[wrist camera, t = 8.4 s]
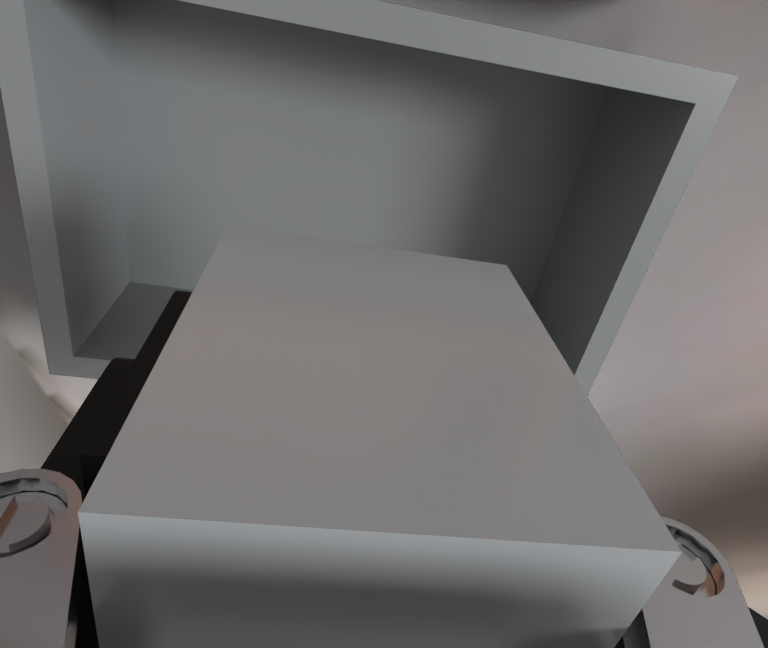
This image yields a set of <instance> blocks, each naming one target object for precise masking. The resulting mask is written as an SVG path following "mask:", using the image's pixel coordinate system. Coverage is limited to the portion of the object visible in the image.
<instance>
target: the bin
mask: <svg viewBox="0 0 768 648" xmlns="http://www.w3.org/2000/svg"><path fill="white" fill-rule="evenodd" d="M738 77H739V76H735V75H730V74H725V73H721V72H716V71H711V70H706V69H702V68H697V67H692V66H687V65H683V64H678V63H673V62H668V61H664V60H659V59H654V58H649V57H645V56H640V55H635V54H630V53H625V52H621V51H616V50H611V49H606V48H602V47H597V46H592V45H587V44H583V43H578V42H573V41H568V40H564V39H559V38H554V37H549V36H545V35H540V34H535V33H530V32H526V31H521V30H516V29H511V28H506V27H502V26H497V25H492V24H487V23H483V22H478V21H473V20H468V19H464V18H459V17H454V16H449V15H445V14H440V13H435V12H430V11H426V10H421V9H416V8H411V7H406V6H402V5H397V4H392V3H387V2H383V1H378V0H0V88H1V94H2V100H3V106H4V111H5V117H6V123H7V129H8V135H9V141H10V146H11V152H12V158H13V164H14V170H15V176H16V182H17V187H18V193H19V199H20V205H21V211H22V217H23V222H24V228H25V234H26V240H27V246H28V252H29V258H30V263H31V269H32V275H33V281H34V287H35V293H36V298H37V304H38V310H39V316H40V322H41V328H42V334H43V339H44V345H45V351H46V357H47V363H48V369H49V374H54V375H64V376H74V377H83V378H93V379H99V378H100V376H101V375H102V373H103V372H104V370H105V369H106V367H107V365H108V364H109V363H110V362H111V361H112V359H114V358H117V357H118V358H128V359H135V358H136V356H137V355H138V353H139V351H140V349H141V348H142V346H143V344H144V343H145V341H146V339H147V337H148V336H149V334H150V332H151V331H152V329H153V327H154V325H155V324H156V322H157V320H158V319H159V317H160V315H161V313H162V312H163V310H164V308H165V307H166V305H167V303H168V302H169V300H170V298H171V296H172V295H173V293H174V292H175V291H176V290H179V291H187V292H193V291H194V289H195V287H196V285H197V283H198V281H199V279H200V277H201V275H202V273H203V271H204V269H205V268H206V266H207V264H208V262H209V260H210V258H211V256H212V254H213V252H214V250H215V248H216V246H217V245H218V243H219V241H220V239H221V237H222V235H223V233H224V231H225V229H226V227H227V225H230V226H237V227H244V228H251V229H258V230H265V231H272V232H279V233H286V234H293V235H300V236H307V237H314V238H321V239H328V240H335V241H342V242H349V243H356V244H363V245H369V246H376V247H383V248H390V249H397V250H404V251H411V252H418V253H425V254H432V255H439V256H446V257H453V258H460V259H467V260H474V261H481V262H488V263H495V264H502V265H507V266H508V268H509V270H510V271H511V273H512V275H513V276H514V278H515V280H516V281H517V283H518V284H519V286H520V288H521V289H522V291H523V293H524V294H525V296H526V298H527V299H528V301H529V302H530V304H531V306H532V307H533V309H534V311H535V312H536V314H537V316H538V317H539V319H540V320H541V322H542V324H543V325H544V327H545V329H546V330H547V332H548V334H549V335H550V337H551V338H552V340H553V342H554V343H555V345H556V347H557V348H558V350H559V352H560V353H561V355H562V356H563V358H564V360H565V361H566V363H567V365H568V366H569V368H570V370H571V371H572V373H573V374H574V376H575V378H576V379H577V381H578V383H579V384H580V386H581V388H582V389H583V391H584V392H585V394H586V396H588V394H589V392H590V390H591V387H592V385H593V383H594V381H595V379H596V377H597V375H598V373H599V370H600V368H601V366H602V364H603V362H604V360H605V358H606V356H607V354H608V351H609V349H610V347H611V345H612V343H613V341H614V339H615V337H616V335H617V332H618V330H619V328H620V326H621V324H622V322H623V320H624V318H625V316H626V313H627V311H628V309H629V307H630V305H631V303H632V301H633V299H634V297H635V294H636V292H637V290H638V288H639V286H640V284H641V282H642V280H643V278H644V275H645V273H646V271H647V269H648V267H649V265H650V263H651V261H652V259H653V256H654V254H655V252H656V250H657V248H658V246H659V244H660V242H661V239H662V237H663V235H664V233H665V231H666V229H667V227H668V225H669V223H670V220H671V218H672V216H673V214H674V212H675V210H676V208H677V206H678V204H679V201H680V199H681V197H682V195H683V193H684V191H685V189H686V187H687V185H688V182H689V180H690V178H691V176H692V174H693V172H694V170H695V168H696V166H697V163H698V161H699V159H700V157H701V155H702V153H703V151H704V149H705V147H706V144H707V142H708V140H709V138H710V136H711V134H712V132H713V130H714V128H715V125H716V123H717V121H718V119H719V117H720V115H721V113H722V111H723V109H724V106H725V104H726V102H727V100H728V98H729V96H730V94H731V92H732V89H733V87H734V85H735V83H736V81H737V79H738Z"/></svg>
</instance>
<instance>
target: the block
mask: <svg viewBox="0 0 768 648" xmlns="http://www.w3.org/2000/svg"><path fill="white" fill-rule="evenodd" d="M78 517H79V523H80V529H81V536H82V542H83V548H84V555H85V561H86V567H87V573H88V580H89V586H90V592H91V599H92V605H93V611H94V618H95V624H96V630H97V637H98V643H99V648H614V647H615V646H616V644H617V643H618V642H619V640H620V639H621V637H622V636H623V634H624V633H625V632H626V630H627V629H628V627H629V626H630V625H631V623H632V622H633V620H634V619H635V618H636V616H637V615H638V613H639V612H640V611H641V609H642V608H643V606H644V605H645V603H646V602H647V601H648V599H649V598H650V596H651V595H652V594H653V592H654V591H655V589H656V588H657V587H658V585H659V584H660V582H661V581H662V580H663V578H664V577H665V575H666V574H667V572H668V571H669V570H670V568H671V567H672V565H673V564H674V563H675V561H676V560H677V558H678V557H679V556H680V554H681V553H682V551H681V549H680V548H679V546H678V545H677V543H676V541H675V540H674V538H673V536H672V535H671V533H670V531H669V530H668V528H667V527H666V525H665V523H664V522H663V520H662V518H661V517H660V515H659V513H658V512H657V510H656V509H655V507H654V505H653V504H652V502H651V500H650V499H649V497H648V495H647V494H646V492H645V491H644V489H643V487H642V486H641V484H640V482H639V481H638V479H637V477H636V476H635V474H634V473H633V471H632V469H631V468H630V466H629V464H628V463H627V461H626V459H625V458H624V456H623V455H622V453H621V451H620V450H619V448H618V446H617V445H616V443H615V441H614V440H613V438H612V437H611V435H610V433H609V432H608V430H607V428H606V427H605V425H604V423H603V422H602V420H601V419H600V417H599V415H598V414H597V412H596V410H595V409H594V407H593V405H592V404H591V402H590V401H589V399H588V397H587V396H586V394H585V392H584V391H583V389H582V388H581V386H580V384H579V383H578V381H577V379H576V378H575V376H574V374H573V373H572V371H571V370H570V368H569V366H568V365H567V363H566V361H565V360H564V358H563V356H562V355H561V353H560V352H559V350H558V348H557V347H556V345H555V343H554V342H553V340H552V338H551V337H550V335H549V334H548V332H547V330H546V329H545V327H544V325H543V324H542V322H541V320H540V319H539V317H538V316H537V314H536V312H535V311H534V309H533V307H532V306H531V304H530V302H529V301H528V299H527V298H526V296H525V294H524V293H523V291H522V289H521V288H520V286H519V284H518V283H517V281H516V280H515V278H514V276H513V275H512V273H511V271H510V270H509V268H508V266H507V265H502V264H495V263H488V262H481V261H474V260H467V259H460V258H453V257H446V256H439V255H432V254H425V253H418V252H411V251H404V250H397V249H390V248H383V247H376V246H369V245H363V244H356V243H349V242H342V241H335V240H328V239H321V238H314V237H307V236H300V235H293V234H286V233H279V232H272V231H265V230H258V229H251V228H244V227H237V226H230V225H227V227H226V229H225V231H224V233H223V235H222V237H221V239H220V241H219V243H218V245H217V246H216V248H215V250H214V252H213V254H212V256H211V258H210V260H209V262H208V264H207V266H206V268H205V269H204V271H203V273H202V275H201V277H200V279H199V281H198V283H197V285H196V287H195V289H194V291H193V292H192V294H191V296H190V298H189V300H188V302H187V304H186V306H185V308H184V310H183V312H182V314H181V315H180V317H179V319H178V321H177V323H176V325H175V327H174V329H173V331H172V333H171V335H170V337H169V338H168V340H167V342H166V344H165V346H164V348H163V350H162V352H161V354H160V356H159V358H158V360H157V361H156V363H155V365H154V367H153V369H152V371H151V373H150V375H149V377H148V379H147V381H146V383H145V384H144V386H143V388H142V390H141V392H140V394H139V396H138V398H137V400H136V402H135V404H134V406H133V408H132V409H131V411H130V413H129V415H128V417H127V419H126V421H125V423H124V425H123V427H122V429H121V431H120V432H119V434H118V436H117V438H116V440H115V442H114V444H113V446H112V448H111V450H110V452H109V454H108V455H107V457H106V459H105V461H104V463H103V465H102V467H101V469H100V471H99V473H98V475H97V477H96V478H95V480H94V482H93V484H92V486H91V488H90V490H89V492H88V494H87V496H86V498H85V500H84V501H83V503H82V505H81V507H80V509H79V511H78Z"/></svg>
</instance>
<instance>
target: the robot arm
mask: <svg viewBox="0 0 768 648" xmlns="http://www.w3.org/2000/svg"><path fill="white" fill-rule="evenodd" d="M191 294H192V292H187V291H179V290H176V291H175V292H174V293H173V295H172V296H171V298H170V300H169V302H168V303H167V305H166V307H165V308H164V310H163V312H162V313H161V315H160V317H159V319H158V320H157V322H156V324H155V325H154V327H153V329H152V331H151V332H150V334H149V336H148V337H147V339H146V341H145V343H144V344H143V346H142V348H141V349H140V351H139V353H138V355H137V356H136V358H135V359H128V358H118V357H117V358H114V359H112V361H111V362H110V363H109V364H108V365H107V367H106V369H105V370H104V372H103V373H102V375H101V376H100V378H99V379H98V381H97V382H96V384H95V385H94V387H93V389H92V390H91V392H90V393H89V395H88V396H87V398H86V399H85V401H84V402H83V404H82V405H81V407H80V409H79V410H78V412H77V413H76V415H75V416H74V418H73V419H72V421H71V422H70V424H69V426H68V427H67V429H66V430H65V432H64V433H63V435H62V436H61V438H60V439H59V441H58V443H57V444H56V446H55V447H54V449H53V450H52V452H51V453H50V455H49V456H48V458H47V459H46V461H45V462H44V464H43V466H42V467H41V469H20V470H15V471H11V472H5V473H0V648H99V643H98V637H97V630H96V624H95V618H94V611H93V605H92V599H91V592H90V586H89V580H88V573H87V567H86V561H85V555H84V548H83V542H82V536H81V529H80V523H79V517H78V511H79V509H80V507H81V505H82V503H83V501H84V500H85V498H86V496H87V494H88V492H89V490H90V488H91V486H92V484H93V482H94V480H95V478H96V477H97V475H98V473H99V471H100V469H101V467H102V465H103V463H104V461H105V459H106V457H107V455H108V454H109V452H110V450H111V448H112V446H113V444H114V442H115V440H116V438H117V436H118V434H119V432H120V431H121V429H122V427H123V425H124V423H125V421H126V419H127V417H128V415H129V413H130V411H131V409H132V408H133V406H134V404H135V402H136V400H137V398H138V396H139V394H140V392H141V390H142V388H143V386H144V384H145V383H146V381H147V379H148V377H149V375H150V373H151V371H152V369H153V367H154V365H155V363H156V361H157V360H158V358H159V356H160V354H161V352H162V350H163V348H164V346H165V344H166V342H167V340H168V338H169V337H170V335H171V333H172V331H173V329H174V327H175V325H176V323H177V321H178V319H179V317H180V315H181V314H182V312H183V310H184V308H185V306H186V304H187V302H188V300H189V298H190V296H191ZM660 517H661V518H662V520H663V522H664V523H665V525H666V527H667V528H668V530H669V531H670V533H671V535H672V536H673V538H674V540H675V541H676V543H677V545H678V546H679V548H680V549H681V551H682V553H681V554H680V556H679V557H678V558H677V560H676V561H675V563H674V564H673V565H672V567H671V568H670V570H669V571H668V572H667V574H666V575H665V577H664V578H663V580H662V581H661V582H660V584H659V585H658V587H657V588H656V589H655V591H654V592H653V594H652V595H651V596H650V598H649V599H648V601H647V602H646V603H645V605H644V606H643V608H642V609H641V611H640V612H639V613H638V615H637V616H636V618H635V619H634V620H633V622H632V623H631V625H630V626H629V627H628V629H627V630H626V632H625V633H624V634H623V636H622V637H621V639H620V640H619V642H618V643H617V644H616V646H615V647H614V648H768V620H767V619H766V618H764V617H763V616H761V615H760V614H758V613H757V612H755V611H754V610H752V609H751V608H749V607H748V606H747V603H746V601H745V598H744V596H743V593H742V591H741V588H740V586H739V584H738V581H737V579H736V576H735V574H734V572H733V570H732V568H731V567H730V565H729V563H728V561H727V559H726V558H725V557H724V556H723V555H722V554H721V553H720V551H719V550H718V549H717V548H716V547H715V546H714V545H713V544H712V543H711V542H710V541H708V540H707V539H706V538H705V537H704V536H702V535H701V534H700V533H698V532H697V531H695V530H693V529H692V528H690V527H688V526H687V525H685V524H683V523H681V522H678V521H676V520H673V519H671V518H668V517H662V516H660Z"/></svg>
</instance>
